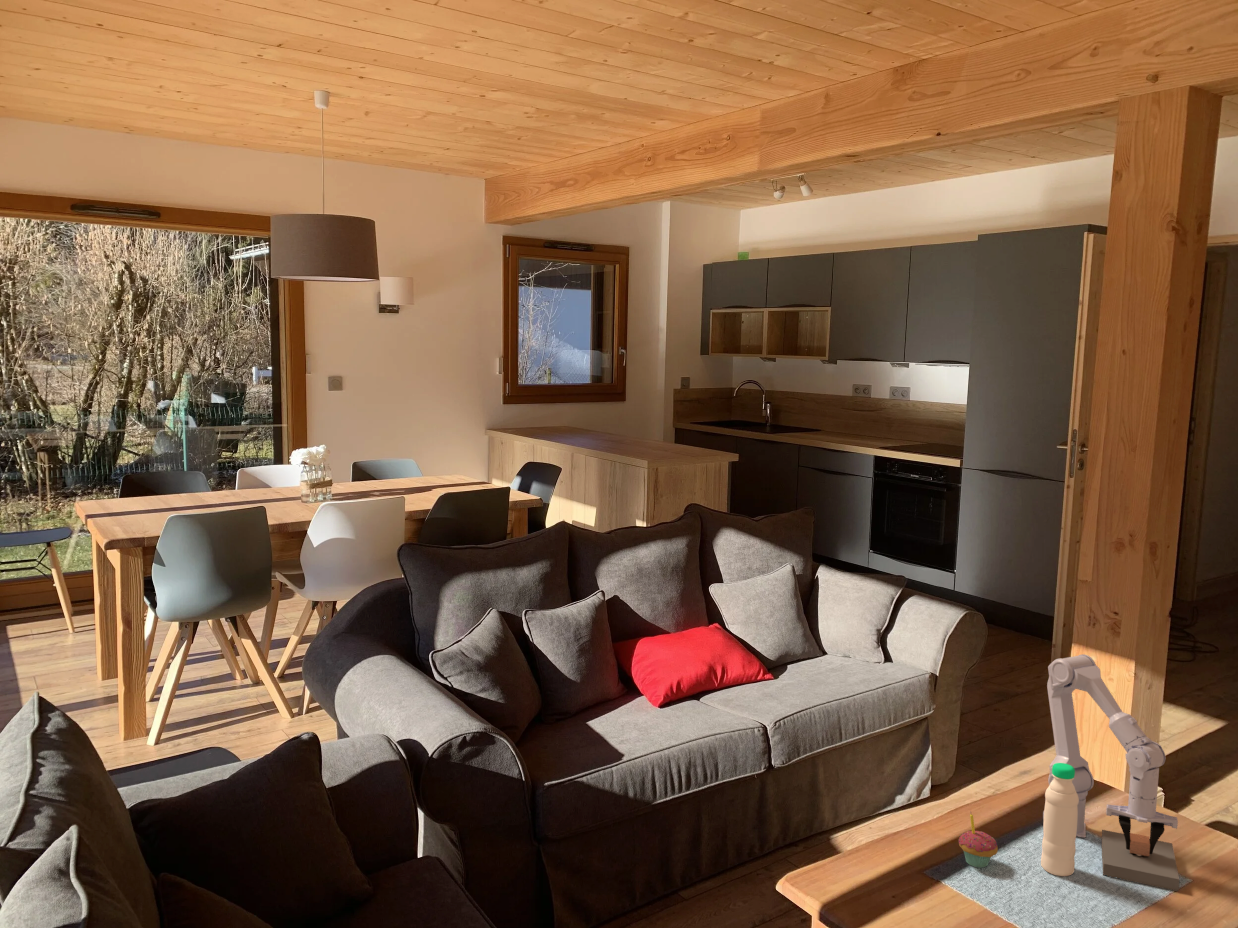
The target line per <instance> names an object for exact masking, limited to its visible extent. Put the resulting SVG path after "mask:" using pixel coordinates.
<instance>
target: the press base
mask: <svg viewBox="0 0 1238 928" xmlns="http://www.w3.org/2000/svg"><path fill="white" fill-rule="evenodd" d="M1100 839H1101V840H1100V841H1101V844H1100V845H1101V861H1102V876H1104V875H1107V876H1106V877H1109V876H1111V877H1110V878H1114V877H1117V878H1116V879H1118V878H1121V879H1120V880H1123V879H1124V880H1123V881H1127V882H1128V881H1129V882H1132V881H1133V883H1137V882H1138V884H1142V885H1147V886H1151V887H1156V888H1160V889H1165V890H1171V891H1174V892H1179V889H1180V887H1179V886H1180V877H1179V871H1178V866H1177V861H1176V856H1175V851H1174V845H1173V843H1172V842H1167V841H1162V840H1158V841H1157V843H1156V845H1155V847H1154V849H1153V853H1152V854H1149V856H1144V855H1142V856H1136V854H1134V853H1130V851H1129V850H1128V849H1126V841H1125V837H1124V833H1123V832H1122V833H1121V832H1116V831H1111V830H1105V829H1101V837H1100ZM1149 840H1150V838H1149Z"/></svg>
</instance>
